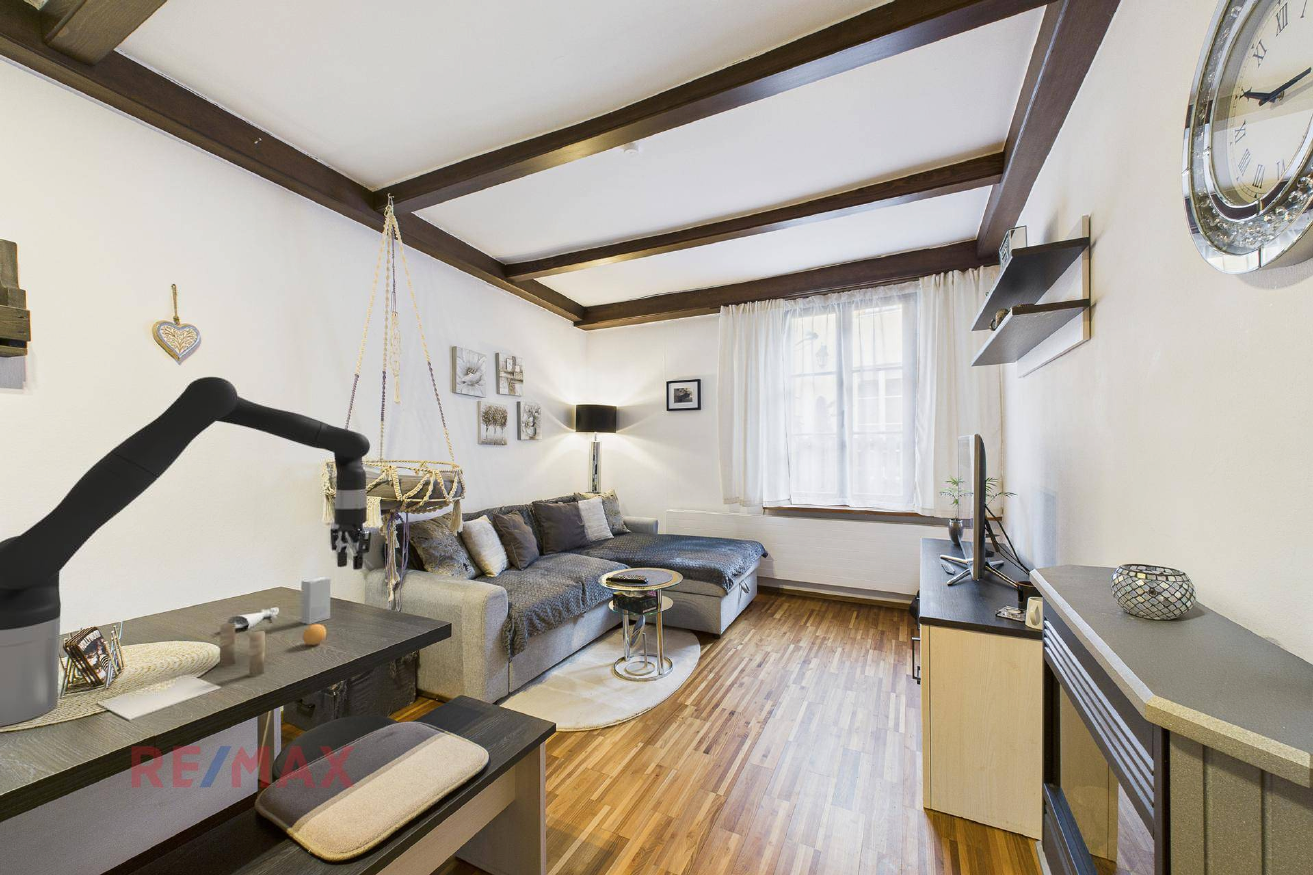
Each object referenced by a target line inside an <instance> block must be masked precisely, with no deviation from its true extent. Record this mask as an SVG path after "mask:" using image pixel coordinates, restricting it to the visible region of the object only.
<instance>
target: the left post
mask: <svg viewBox="0 0 1313 875" xmlns="http://www.w3.org/2000/svg"><path fill="white" fill-rule="evenodd" d="M235 646H236V629H235V623H227V624H225V623H223V624H221V625H220V639H219V667H228V666H231V665H233V664H235V656H236V654H235V652H236V651H235V649H236V648H235Z"/></svg>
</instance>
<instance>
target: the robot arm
mask: <svg viewBox="0 0 1313 875" xmlns="http://www.w3.org/2000/svg"><path fill="white" fill-rule="evenodd" d="M215 422H219V423H220V422H221V423H227V424H232V425H237V426H240V427H246V428H249V429H253V430H255V431H256V430H257V431H260V432H263V433H267V434H269V435H273V436H277V437H279V438H281V439H285V440H288V441H291V442H295V443H298V444H300V445H304V446H308V447H311V448H315V449H321V450H326V451H329V452H332V453H333V456H334V463H335V469H336V480H335V481H336V482H335V489H336V491H335V496H334V524H335V525H337V526H338V527H336V528H335V527H334V528H330V544H331V550H332V551H335V553H336V555H337V557H336V559H337V561H336V563H337V567H338V568H344V567H346V566H347V565H348V552H347V551H348V548H350V549H352V554H353V556H352V561H353V562H352V569H353V571H354V570H355V571H359V570H362V569H363V566H364V555H365V554H369V553H370V548H371V541H372V540H371V539H372V531H371V530H364V527H363V525H364V524H365V523H367V519H368V518H367V517H368V516H367V515H368V512H367V510H368V506H367V505H368V495H367V472H366V470H365V469H364V466H363V457H365V456H366V455H367V454H368V453H369V452H370V448H371V443H370V441H369V439H368V437H366V436H365V435H364V434H362V433H359V432H356V431H353V430H349V429H345V428H342V427H338V426H334V425H332V424H331V425H330V424H328V423H326V422H323V421H322V420H321V421H320V420H318V419H315V418H312V417H309V416H306V415H304V414H300V413H296V412H293V411H288V410H283V409H278V408H273V407H269V406H265V405H262V404H258V403H256V402H253V401H250V400H247V399H245V398H243V397H241V396H239V395H238V391H237V389H236V387H235V385H234V384H232V383H231V382H230V381H228V380H227V379H225V378H223V377H217V376H206V377H200V378H197V379H196V380H193V381H192V382H190V383H189V384H188V385H187V386H186V388H185V389H184V391H183V392H182V393H181V394H180V395H179V396H178V397H177V399H176V400H175V401H174V402H172V404H171V405H170V406H168V408H166V410H164V411H163V413H161V414H160V415H159V416H158V417H157V418H155V419H153V420H152V421H151V422H150V423H148V424H146V425H145V426H143V427H142V428H141V429H139V430H137V431H136V432H135V433H133V434H132V435H130V436H129V437H128V438H126V439H125V440H124V441H122V442H121V443H119V444H118V445H117V446H115V447H114V448H113V449H111V450H110V451H109V452H108V453H106V454H105V456H103V457H102V458H100V460H98V461H97V462H96V463H95V464H94V465H93V466H92V467H90V468H89V469H88V470H87V471H86V472H85V474H83V475H82V477H81V478H79V480H78V481H77V482H75V484H74V485H73V486H72V487H71V489H70V490H69V491H68V492H67V494H66V495H65V496H64V498H63V499H62V500H61V501H60V502H59V504H58V505H56V507H55V508H54V509H53V510H51V511H50V512H49V513H48V514H47V515H45V516H44V517H43V518H42V519H41V520H39V521H38V522H37V523H35V524H34V525H32V526H30V528H28V529H27V530H26V531H24V532H23V533H21V534H20V535H16V536H13V537H8V538H7V539H4V540H1V541H0V727H4V726H10V725H13V724H17V723H21V722H22V723H23V722H25V721H29V720H32V719H34V718H37V717H41V716H43V715H45V714H47V713H49V712H51V711H52V710H54V709H56V708H57V707H58V701H59V675H60V674H59V672H60V671H59V667H60V665H59V664H60V643H61V642H60V639H61V637H60V636H61V635H60V634H61V610H62V608H61V606H62V605H61V604H62V602H61V595H60V571H61V570H62V569H63V568H64V567H65V566H66V564H68V562H69V561H70V560H71V559H72V557H73V556H74V555H75V554H76V553H77V552H78V551H79V550H80V549H81V547H82V546H83V545H84V544H85V543H86V542H87V541H88V539H90V538H91V537H92V536H93V535H94V534H95V533H96V532H97V531H98V530H99V529H100V528H101V527H103V526H104V525H105V524H106V523H107V522H109V521H110V520H111V519H113V518H114V517H115V516H116V515H118V514H119V513H120V512H122V510H124V509H126V507H127V506H129V505H130V504H131V503H132V502H133V501H135V499H136V498H139V496H140V495H142V494H143V492H145V491H146V490H148V488H150V486H152V485H153V484H154V483H155V482H156V481H157V480H158V479H159V478H160V477H161V476H162V475H163V474H164V473H165V472H166V471H167V470H168V469H169V468H170V467H171V466H172V465H173V464H174V462H175V461H176V460H177V459H178V458H179V457H180V455H182V453H183V452H184V451H185V449H186V448H187V447H188V446H189V444H190V443H192V441H193V440H194V439H196V438H197V436H198V435H200V434H201V433H202V432H204V431H205V430H206V429H207V428H209V427H210V426H211V425H213V424H215Z"/></svg>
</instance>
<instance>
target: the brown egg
mask: <svg viewBox="0 0 1313 875" xmlns="http://www.w3.org/2000/svg"><path fill="white" fill-rule="evenodd" d="M326 635H327V630H326V627H325V626H323V625H322V624H319V623H318V624H317V623H316V624H315V623H313V624H310V625H309V626H308V627H307V628H306V629H305V630H304V631H303V633H302V640H303V641H304V643H305V644H307V645H308V646H315V645H318V644H320V643H321V642H323V641H324V639H325V638H326Z"/></svg>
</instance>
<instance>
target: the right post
mask: <svg viewBox="0 0 1313 875" xmlns="http://www.w3.org/2000/svg"><path fill="white" fill-rule="evenodd" d="M265 640H266V631H265V630H257V631H254V632H251V633H250V634H249V663H248V664H249V669H248V673H249V674H248V676H249V677H252V678H253V677H258V676H261V675H263V674H264V673H265V651H266V650H265V649H266V647H265V645H266V644H265V642H266V641H265Z"/></svg>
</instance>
